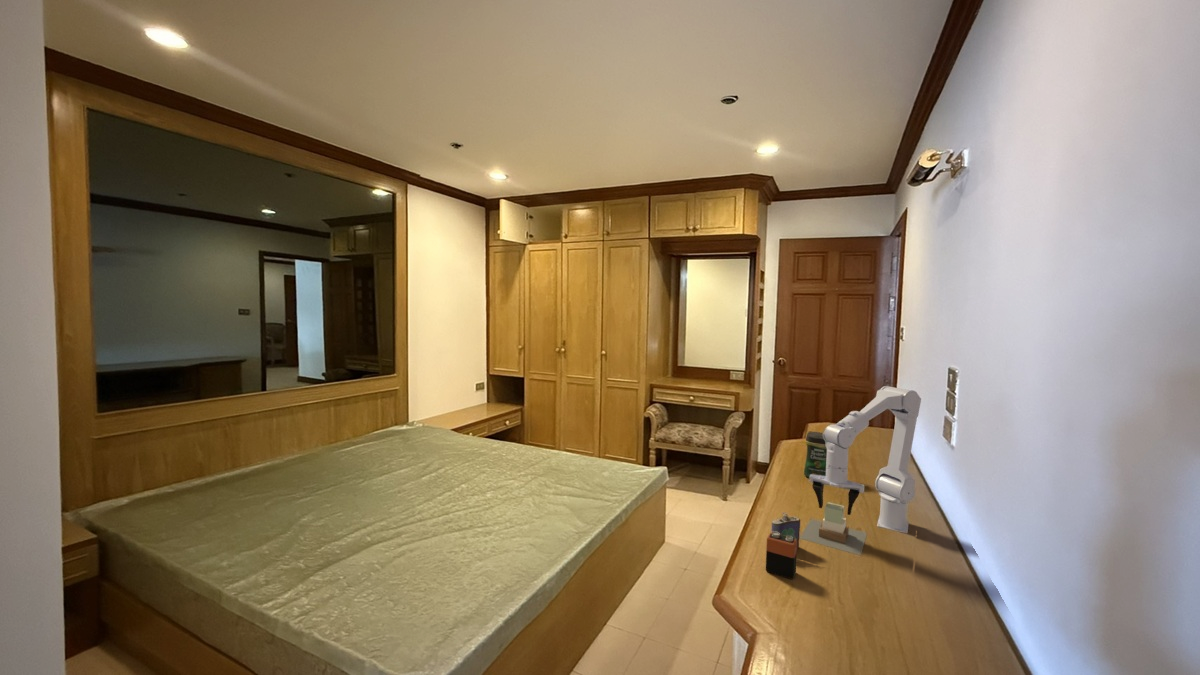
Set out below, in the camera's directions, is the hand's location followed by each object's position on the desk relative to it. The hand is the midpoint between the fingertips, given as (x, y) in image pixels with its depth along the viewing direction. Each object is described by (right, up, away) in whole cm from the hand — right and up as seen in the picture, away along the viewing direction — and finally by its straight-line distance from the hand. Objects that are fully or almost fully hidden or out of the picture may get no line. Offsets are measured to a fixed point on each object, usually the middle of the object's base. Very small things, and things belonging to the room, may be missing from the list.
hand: (834, 510), depth 140 cm
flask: (-18, -9, -8) cm, 21 cm away
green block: (0, -3, 0) cm, 3 cm away
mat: (0, -8, 0) cm, 8 cm away
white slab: (0, -5, 0) cm, 5 cm away
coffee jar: (+18, -5, +50) cm, 54 cm away
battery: (-23, -9, -19) cm, 31 cm away
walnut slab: (0, -8, 0) cm, 8 cm away
